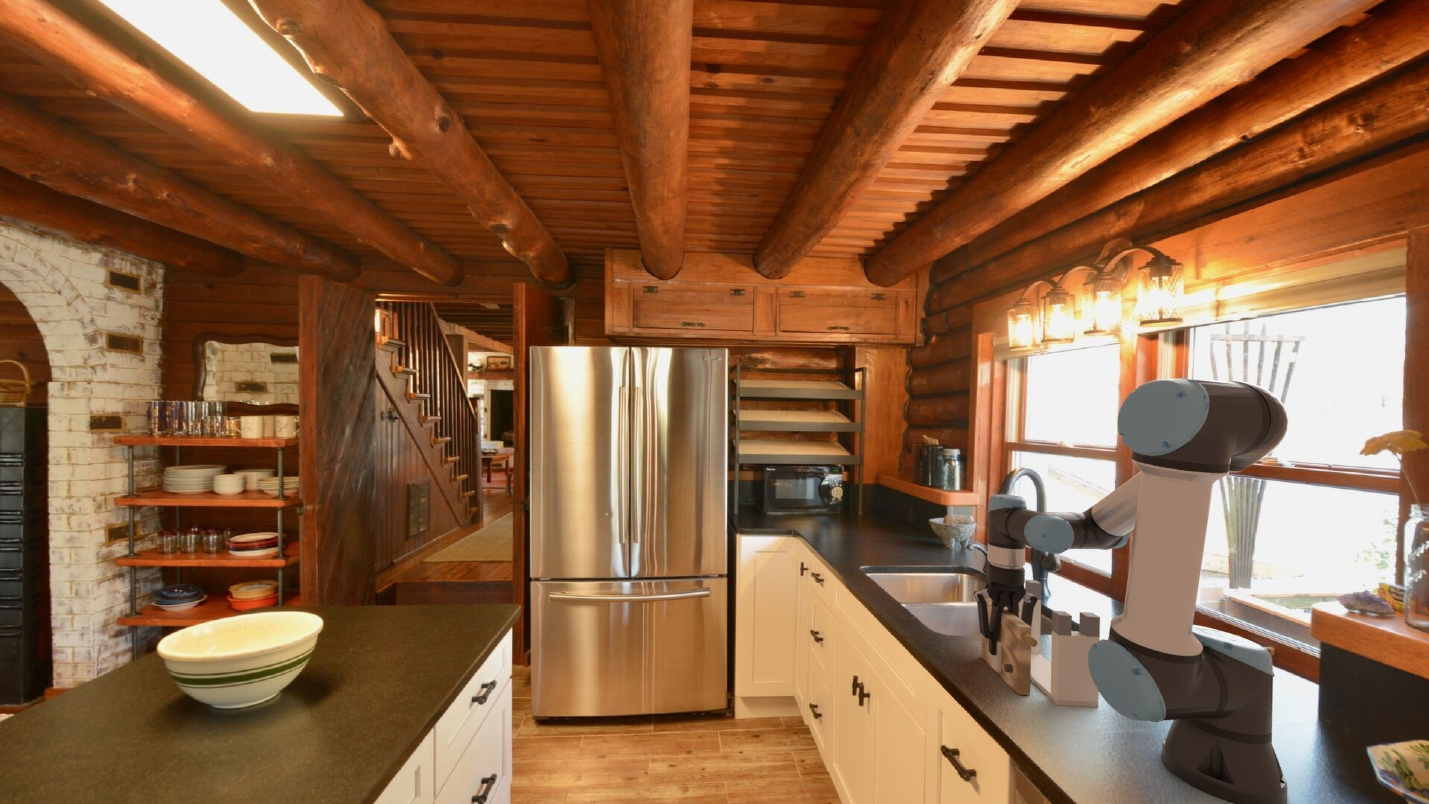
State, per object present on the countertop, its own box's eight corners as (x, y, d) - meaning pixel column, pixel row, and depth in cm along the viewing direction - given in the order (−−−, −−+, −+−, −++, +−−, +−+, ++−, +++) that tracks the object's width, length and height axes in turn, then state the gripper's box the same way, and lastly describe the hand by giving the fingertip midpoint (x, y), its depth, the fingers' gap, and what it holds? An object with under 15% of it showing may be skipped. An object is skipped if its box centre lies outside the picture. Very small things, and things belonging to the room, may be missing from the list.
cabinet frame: (1098, 707, 111) (1100, 617, 112) (1057, 704, 112) (1059, 615, 112) (1034, 653, 136) (1035, 580, 136) (1000, 652, 136) (1002, 578, 137)
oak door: (1038, 703, 112) (1039, 633, 112) (1019, 702, 112) (1021, 632, 112) (985, 651, 136) (986, 594, 137) (970, 650, 137) (971, 593, 137)
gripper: (1032, 561, 128) (1031, 664, 128) (963, 558, 129) (961, 660, 128) (1050, 570, 121) (1048, 679, 120) (977, 567, 121) (975, 675, 121)
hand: (1003, 669), depth 124 cm, fingers closed on oak door, 2 cm apart
